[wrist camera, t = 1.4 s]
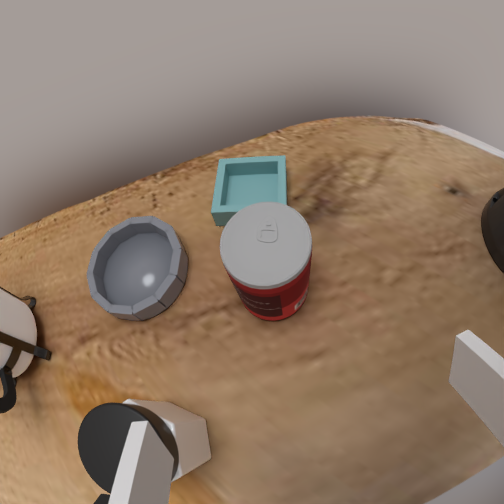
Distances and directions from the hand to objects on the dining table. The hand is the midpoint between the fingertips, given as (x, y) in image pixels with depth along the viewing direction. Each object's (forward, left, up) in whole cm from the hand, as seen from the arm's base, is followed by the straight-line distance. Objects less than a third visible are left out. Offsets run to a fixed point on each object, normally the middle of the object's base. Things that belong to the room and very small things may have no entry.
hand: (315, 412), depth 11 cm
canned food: (+3, -13, -20) cm, 24 cm away
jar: (+13, +5, -20) cm, 25 cm away
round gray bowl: (+20, -15, -20) cm, 32 cm away
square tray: (+6, -26, -20) cm, 33 cm away
